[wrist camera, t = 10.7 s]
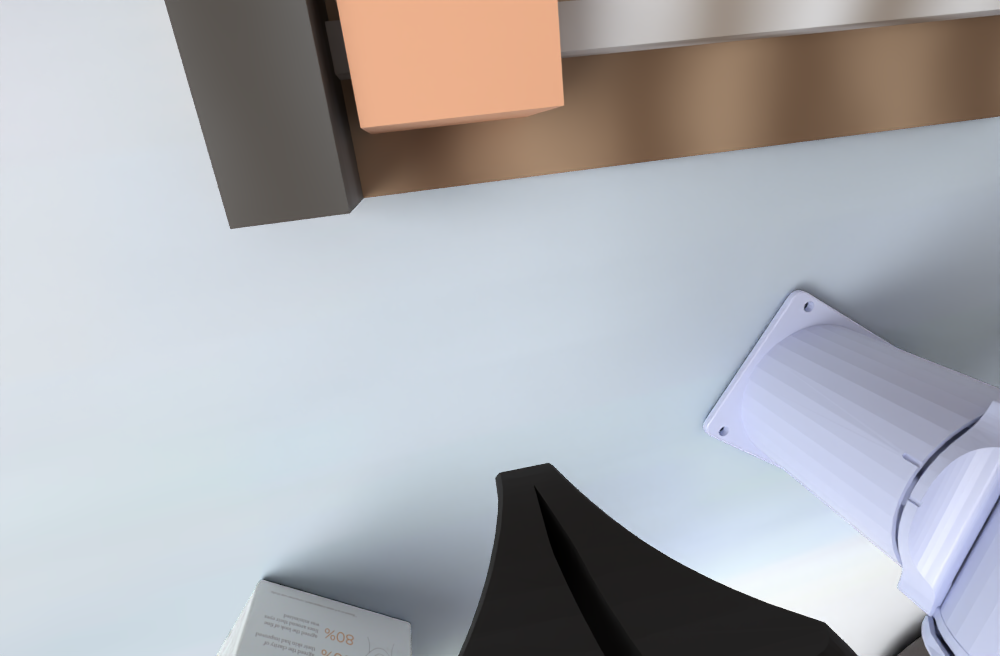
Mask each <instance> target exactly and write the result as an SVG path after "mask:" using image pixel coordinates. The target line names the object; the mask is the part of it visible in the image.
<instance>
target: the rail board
mask: <svg viewBox="0 0 1000 656" xmlns="http://www.w3.org/2000/svg"><path fill="white" fill-rule="evenodd" d="M164 1H165V4H166V7H167V11H168V14H169V18H170V21H171V25H172V28H173V32H174V35H175V39H176V42H177V46H178V49H179V52H180V56H181V59H182V63H183V66H184V70H185V73H186V77H187V80H188V84H189V87H190V91H191V94H192V98H193V101H194V104H195V108H196V111H197V115H198V118H199V122H200V125H201V129H202V132H203V136H204V139H205V143H206V146H207V150H208V153H209V156H210V160H211V163H212V167H213V170H214V174H215V177H216V181H217V184H218V188H219V191H220V195H221V198H222V202H223V205H224V208H225V212H226V215H227V219H228V222H229V226H230V229H234V228H242V227H249V226H257V225H264V224H272V223H279V222H287V221H295V220H302V219H310V218H317V217H325V216H333V215H340V214H348V213H350V212H351V211H352V210H353V209H354V208H355V207H356V206H357V205H358V204H359V203H360V202H361V200H362V199H363V198H368V197H376V196H383V195H391V194H399V193H407V192H415V191H422V190H430V189H438V188H446V187H454V186H461V185H469V184H477V183H485V182H492V181H500V180H508V179H516V178H524V177H531V176H539V175H547V174H555V173H562V172H570V171H578V170H586V169H594V168H601V167H609V166H617V165H625V164H632V163H640V162H648V161H656V160H664V159H671V158H679V157H687V156H695V155H703V154H710V153H718V152H726V151H734V150H741V149H749V148H757V147H765V146H773V145H780V144H788V143H796V142H804V141H811V140H819V139H827V138H835V137H843V136H850V135H858V134H866V133H874V132H882V131H889V130H897V129H905V128H913V127H920V126H928V125H936V124H944V123H952V122H959V121H967V120H975V119H983V118H990V117H998V116H1000V0H558V16H559V32H560V47H561V63H562V79H563V95H564V106H561V107H558V108H554V109H551V110H548V111H544V112H541V113H538V114H535V115H531V116H528V117H520V118H511V119H502V120H493V121H484V122H476V123H467V124H458V125H449V126H440V127H431V128H422V129H413V130H405V131H396V132H387V133H378V134H370V133H368V132H366V131H365V130H363V129H361V127H360V122H359V117H358V111H357V106H356V101H355V96H354V90H353V85H352V80H351V75H350V69H349V64H348V59H347V53H346V48H345V43H344V38H343V32H342V27H341V22H340V17H339V11H338V6H337V1H336V0H164Z"/></svg>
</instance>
